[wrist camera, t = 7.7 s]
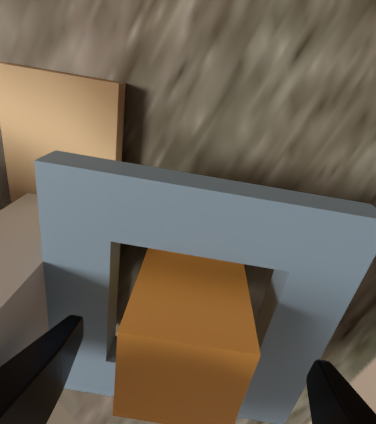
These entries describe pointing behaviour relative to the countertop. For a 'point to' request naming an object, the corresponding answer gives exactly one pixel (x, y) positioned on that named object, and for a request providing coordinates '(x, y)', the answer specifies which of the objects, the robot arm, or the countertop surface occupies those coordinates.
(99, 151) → the board
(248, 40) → the countertop surface
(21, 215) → the bracket
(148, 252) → the orange square post
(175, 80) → the countertop surface
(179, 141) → the countertop surface
